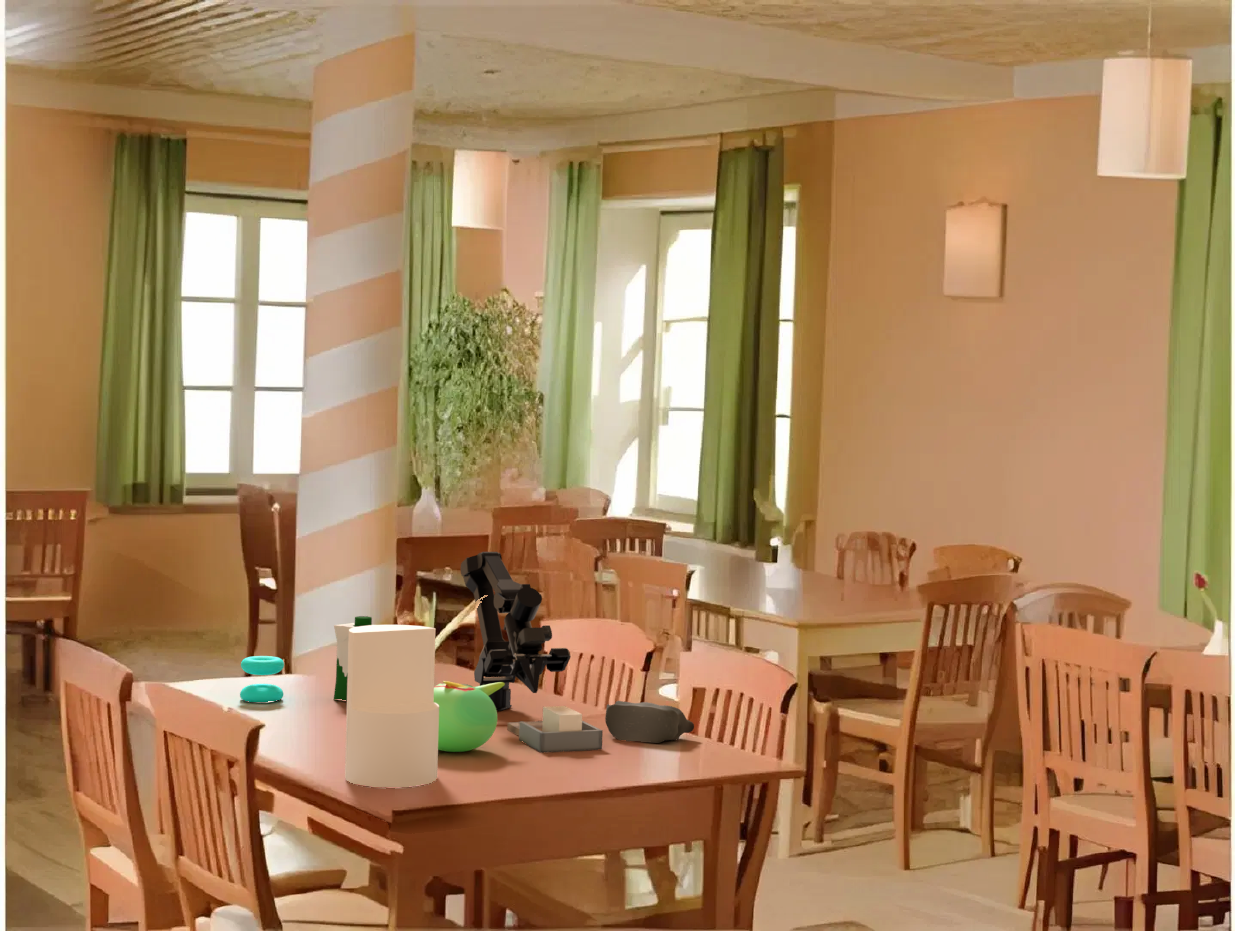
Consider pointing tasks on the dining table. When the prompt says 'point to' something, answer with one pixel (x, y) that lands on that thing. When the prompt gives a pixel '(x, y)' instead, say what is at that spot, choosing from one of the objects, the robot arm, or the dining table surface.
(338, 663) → the milk carton
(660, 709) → the dark grey bottle
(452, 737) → the green rounded body
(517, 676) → the robot arm
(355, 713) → the cylinder
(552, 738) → the tray
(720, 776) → the dining table surface
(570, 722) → the cream rectangular block
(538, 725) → the board
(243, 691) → the donuts
